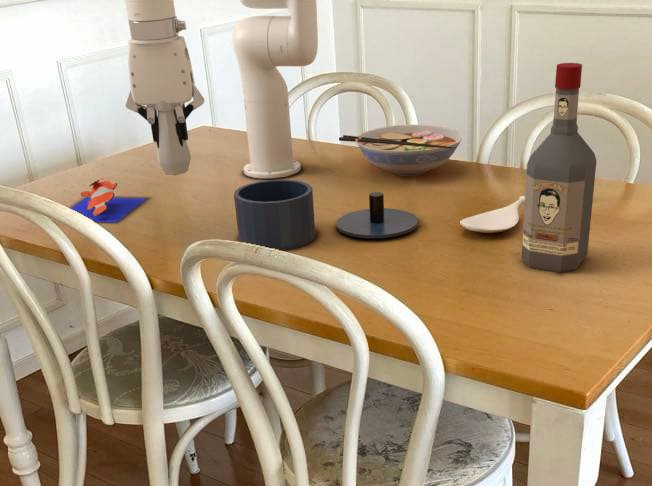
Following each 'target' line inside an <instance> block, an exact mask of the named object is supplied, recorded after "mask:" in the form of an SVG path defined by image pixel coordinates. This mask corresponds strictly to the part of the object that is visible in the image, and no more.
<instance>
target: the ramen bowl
mask: <svg viewBox="0 0 652 486" xmlns="http://www.w3.org/2000/svg"><path fill="white" fill-rule="evenodd" d="M463 137H464V135H463V134H462V132H460V130H456V129H454V128H451V127H447V126H440V125H434V124H433V125H432V124H399V125H388V126H382V127H377V128H373V129H370V130H367V131H364V132H363V131H362V132H361V133H359V134H358V135H357V136H356V135H348V134H343V135H342V136H340V137H338V141H339V142H351V143H352V142H354V143H356V144H357V146H358V148H359V150H360V152H361V153H362V154H363V156H364V157H365V158H366V160H367V161H368V162H369V163H370V164H372V165H374V166H375V167H376V168H379V169H381V170H383V171H387V172H390V173H392V174H393V175H396V176H401V177H414V176H419V175H420V176H421V175H423V174H425V173H427V172H428V171H431V170H433V169H435V168H438V167H440V166H442V165H444V164H445V163H447V162H448V161H449V159H450V158H451V157H452V156H453V154H454V153H455V151H456V150H457V148H458V147H459V146H460V144H461V141H462V140H463Z"/></svg>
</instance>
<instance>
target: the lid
mask: <svg viewBox="0 0 652 486" xmlns="http://www.w3.org/2000/svg"><path fill="white" fill-rule="evenodd" d="M384 196H385V195H384V192H381V191H373V192H370V193H368V204H369V205H368V206H369V208H365V209H359V210H354V211H350V212H348V213H346V214H343V215H342V216H340V217H339V218H338V219H337V220H336V223H335V226H336V229H337V230H338V231H339V232H340V233H342V234H343V235H347V236H349V237H354V238H360V239H386V238H394V237H398V236H403V235H405V234H408V233H410V232H412V231H414V230H415V229H416V228H417V227H418V225H419V219H418V217H417V216H416V215H415V214H413V213H412V212H409V211H406V210H402V209H397V208H386V207H385V201H384V200H385V197H384Z"/></svg>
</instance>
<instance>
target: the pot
mask: <svg viewBox="0 0 652 486" xmlns="http://www.w3.org/2000/svg"><path fill="white" fill-rule="evenodd" d="M233 200H234V209H235V217H236V226H237V235H238V241H239V243H240V242H246V243H251V244H256V245H260V246H265V247H269V248H275V249H279V251H287V250H292V249H293V250H294V249H296V248H300V247H303V246H305V245H307V244H310V243H311V242H312V241H313V240H315V237H316V223H315V209H314V208H315V207H314V205H315V204H314V193H313V187H312V186H311V185H310V184H309V183H307V182H304V181H301V180H295V179H265V180H259V181H255V182H251V183H246V184H245V185H242V186H240V187H238V188H237V189H236V190H234V192H233Z"/></svg>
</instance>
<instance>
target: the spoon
mask: <svg viewBox="0 0 652 486" xmlns="http://www.w3.org/2000/svg"><path fill="white" fill-rule="evenodd" d="M522 205H525V195H521V196H519V197H518V200H517V201H514V202H513V203H511V204H509V205H507V206H504V207H501V208H498V209H493V210H490V211H486V212H485V211H484V212H483V213H478V214H476V215H472V216H469V217H466V218H463V219H461V220H460V221H459V223H460V225H461V226H462V227H463V228H465V229H467V230H468V231H470V232H471V231H472V232H476V233H477V232H478V233H486V234H495V233H500V232H504V231H507V230H510V229H512V228H513V227H515V226H516V225H517V224H518V222H519V219H520V218H519V217H520V215H519V208H520V207H521V206H522Z"/></svg>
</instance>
